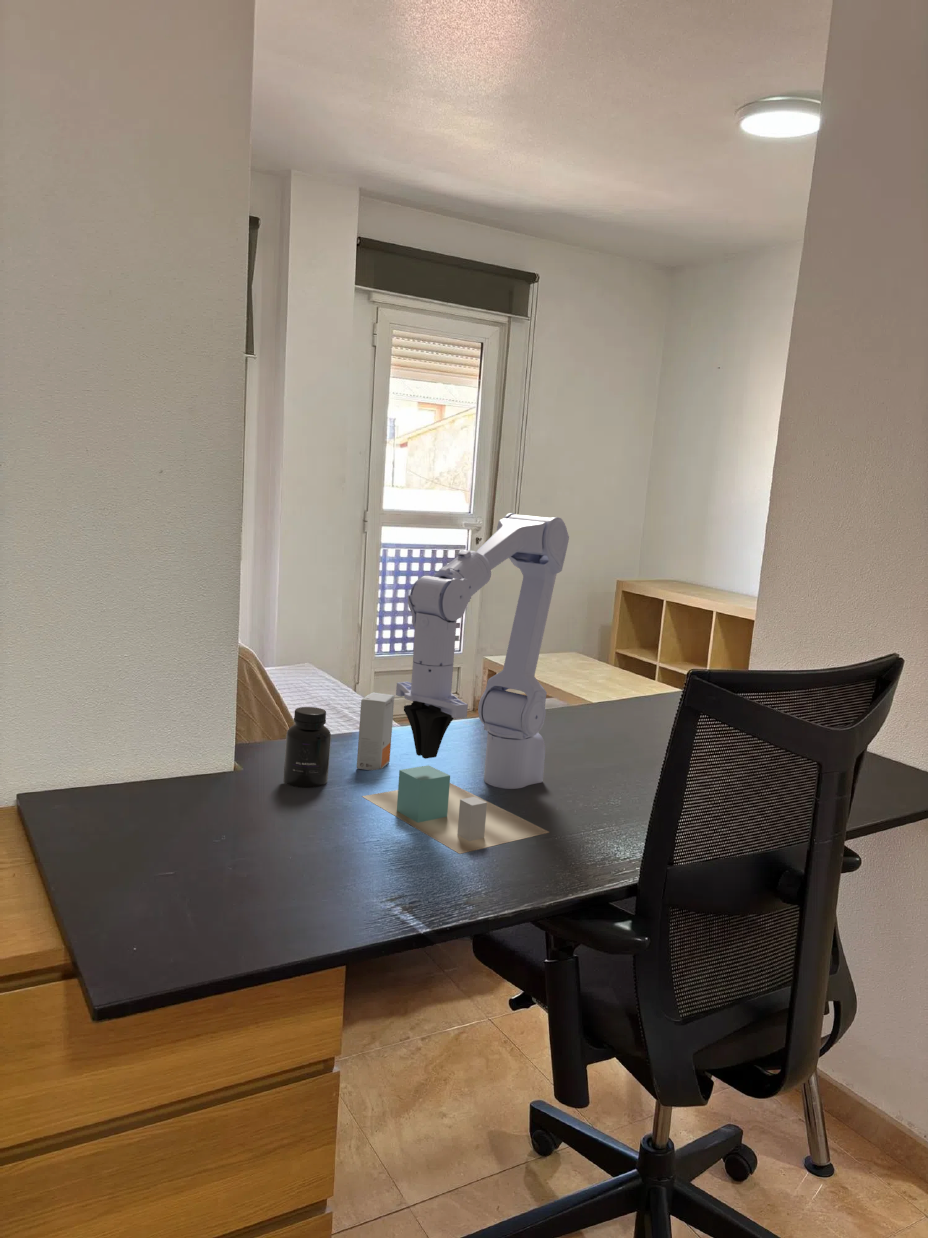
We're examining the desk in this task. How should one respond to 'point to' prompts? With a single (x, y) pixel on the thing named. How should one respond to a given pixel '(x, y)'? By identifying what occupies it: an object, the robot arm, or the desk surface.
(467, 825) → the grey post
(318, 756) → the supplement bottle
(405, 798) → the teal green block
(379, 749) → the skincare box
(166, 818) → the desk surface
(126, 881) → the desk surface
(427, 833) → the board
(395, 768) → the desk surface
